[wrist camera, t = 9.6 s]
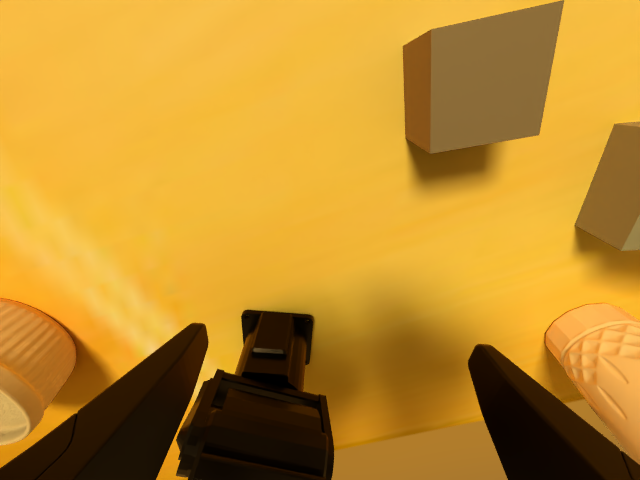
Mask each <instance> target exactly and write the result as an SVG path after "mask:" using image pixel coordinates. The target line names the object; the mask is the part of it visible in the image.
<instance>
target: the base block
mask: <svg viewBox="0 0 640 480" xmlns="http://www.w3.org/2000/svg"><path fill="white" fill-rule="evenodd" d="M575 226H577V227H579V228H581V229H583V230H584V231H586V232H588V233H590V234H592V235H593V236H595V237H597V238H599V239H601V240H602V241H604V242H606V243H608V244H610V245H611V246H613V247H615V248H617V249H619V250H620V251H628V250H640V122H631V123H619V124H614V127H613V129H612V132H611V134H610V137H609V139H608V142H607V144H606V147H605V150H604V152H603V155H602V157H601V160H600V162H599V165H598V167H597V170H596V172H595V175H594V177H593V180H592V182H591V185H590V188H589V190H588V193H587V195H586V198H585V200H584V203H583V205H582V208H581V210H580V213H579V215H578V218H577V221H576V223H575Z"/></svg>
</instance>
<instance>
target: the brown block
mask: <svg viewBox="0 0 640 480" xmlns="http://www.w3.org/2000/svg"><path fill="white" fill-rule="evenodd" d="M563 4H564V0H563V1H558V2H554V3H549V4H545V5H540V6H535V7H531V8H526V9H522V10H517V11H513V12H508V13H504V14H499V15H495V16H490V17H486V18H481V19H477V20H472V21H467V22H463V23H458V24H454V25H449V26H445V27H440V28H436V29H431V30H430V31H428V32H426V33H425V34H423V35H421V36H419V37H418V38H416V39H414V40H413V41H411V42H409V43H407V44H406V45H404V46H403V69H404V102H405V134H406V139H407V140H409V141H411V142H412V143H414V144H415V145H417V146H419V147H420V148H422V149H423V150H425V151H427V152H428V153H430V154H432V153H438V152H444V151H450V150H455V149H461V148H467V147H473V146H479V145H484V144H490V143H496V142H502V141H508V140H513V139H519V138H525V137H531V136H536V135H539V133H540V127H541V122H542V117H543V111H544V106H545V101H546V95H547V90H548V84H549V79H550V74H551V68H552V63H553V57H554V52H555V47H556V41H557V36H558V31H559V25H560V20H561V14H562V9H563Z"/></svg>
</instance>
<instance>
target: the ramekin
mask: <svg viewBox="0 0 640 480" xmlns="http://www.w3.org/2000/svg"><path fill="white" fill-rule="evenodd" d="M75 364H76V347H75V344H74V341H73V340H72V338H71V336H70V335H69V334H68V332H67V331H66V330H65V329H64V328H63V327H62V326H61V325H60V324H59V323H57V322H56V321H55V320H53V319H52V318H51V317H49V316H48V315H46V314H44V313H43V312H41V311H39V310H37V309H35V308H33V307H30V306H28V305H25V304H22V303H19V302H16V301H12V300H8V299H2V298H0V445H7V444H11V443H15V442H18V441H20V440H22V439H24V438H25V437H27V436H28V435H29V434H30V433H31V431H32V430H33V429H34V428H35V427H36V426H37V425H38V424H39V422H40V421H41V420H42V418H43V415H44V411H45V409H46V408H47V407H48V405H49V404H50V403H51V401H52V400H53V399H54V397H55V396H56V395H57V393H58V392H59V390H60V389H61V388H62V386H63V385H64V383H65V382H66V380H67V379H68V377H69V376H70V374H71V373H72V371H73V369H74V366H75Z"/></svg>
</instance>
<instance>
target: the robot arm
mask: <svg viewBox="0 0 640 480" xmlns="http://www.w3.org/2000/svg"><path fill="white" fill-rule="evenodd" d="M246 315H248V316H246ZM241 319H242V331H243V343H244V347H243V350H242V353H241V356H240V359H239V362H238V365H237V368H236V372H235V375H234V374H230V373H226V372H224V370H220V369H217V371H216V373H215V376H214V378H210V380H208V381H204V382H203V385H202V387H201V389H200V392H199V394H198V396H197V399H196V401H195V403H194V405H193V407H192V409H191V411H190V413H189V414H188V416H187V418H186V420H185V422H184V424H183V425H182V427H181V429H180V431H179V434H178V436H177V439H176V441H177V444H178V447H179V449H180V455H179V458H178V460H181V461H180V464H179V467H178V470H177V473H176V476H180V477H188V480H331V478H332V473H333V463H334V445H333V437H332V431H331V425H330V419H329V413H328V406H327V400H326V396H324V395H320V394H319V395H314V394H310V393H306V392H303V385H304V373H305V365H308V364H309V362H310V350H311V339H312V328H313V317H312V316H311V315H306V314H293V313H280V312H266V311H253V310H245V311H244V312H243V313H242V316H241ZM307 320H309V321H307ZM207 348H208V336H207V330H206V326H205V324H203V323H192V324H190V325H188V326H187V327H186V328H184V329H183V330H182V331H181V332H179V333H178V334H177V335H175V336H174V337H173V338H172V339H170V340H169V341H168V342H166V343H165V344H164V345H163V346H161V347H160V348H159V349H157V350H156V351H155V352H153V353H152V354H151V355H150V356H148V357H147V358H146V359H144V360H143V361H142V362H141V363H139V364H138V365H137V366H135V367H134V368H133V369H132V370H130V371H129V372H128V373H126V374H125V375H124V376H123V377H121V378H120V379H119V380H117V381H116V382H115V383H113V384H112V385H111V386H110V387H108V388H107V389H106V390H104V391H103V392H102V393H101V394H99V395H98V396H97V397H95V398H94V399H93V400H92V401H90V402H89V403H88V404H86V405H85V406H84V407H83V408H81V409H80V410H79V411H78V413H75V414H73V415H72V416H71V417H69V418H68V419H67V420H66V421H64V422H63V423H62V424H60V425H59V426H58V427H56V428H55V429H54V430H52V431H51V432H50V433H48V434H47V435H46V436H44V437H43V438H42V439H40V440H39V441H38V442H36V443H35V444H34V445H32V446H31V447H30V448H28V449H27V450H25V451H24V452H23V453H21V454H20V455H18V456H17V457H15V458H14V459H13V460H11V461H10V462H8V463H7V464H6V465H4V466H3V467H1V468H0V480H156V478H157V476H158V473H159V471H160V469H161V467H162V464H163V462H164V460H165V457H166V455H167V453H168V450H169V448H170V446H171V444H172V441H173V439H174V437H175V434H176V432H177V430H178V427H179V425H180V423H181V421H182V418H183V416H184V414H185V411H186V409H187V407H188V404H189V402H190V400H191V397H192V395H193V392H194V389H195V386H196V383H197V380H198V376H199V373H200V370H201V367H202V364H203V361H204V358H205V354H206V351H207ZM468 367H469V371H470V374H471V378H472V381H473V385H474V388H475V391H476V395H477V398H478V402H479V405H480V409H481V412H482V415H483V417H484V420H485V423H486V425H487V428H488V430H489V433H490V435H491V438H492V441H493V443H494V445H495V448H496V451H497V453H498V456H499V458H500V461H501V463H502V465H503V468H504V471H505V473H506V476H507V478H508V480H640V465H639V464H638V463H637V462H636V461H634V460H633V459H632V458H631V457H629V456H628V455H627V454H626V453H624V452H623V451H620V449H619V448H618V447H617V446H616V445H614V444H613V443H612V442H611V441H609V440H608V439H607V438H606V437H604V436H603V435H602V434H601V433H599V432H598V431H597V430H596V429H595V428H593V427H592V426H591V425H590V424H588V423H587V422H586V421H585V420H583V419H582V418H581V417H580V416H578V415H577V414H576V413H574V412H573V411H572V410H571V409H570V408H568V407H567V406H566V405H565V404H563V403H562V402H561V401H560V400H559V399H557V398H556V397H555V396H554V395H552V394H551V393H550V392H549V391H547V390H546V389H545V388H544V387H542V386H541V385H540V384H539V383H537V382H536V381H535V380H534V379H532V378H531V377H530V376H529V375H527V374H526V373H525V372H524V371H522V370H521V369H520V368H519V367H518V366H516V365H515V364H514V363H513V362H511V361H510V360H509V359H508V358H506V357H505V356H504V355H503V354H501V353H500V352H499V351H498V350H496V349H495V348H494V347H493V346H491V345H486V344H477V345H476V346H475V348H474V350H473V352H472V354H471V356H470V358H469V360H468Z"/></svg>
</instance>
